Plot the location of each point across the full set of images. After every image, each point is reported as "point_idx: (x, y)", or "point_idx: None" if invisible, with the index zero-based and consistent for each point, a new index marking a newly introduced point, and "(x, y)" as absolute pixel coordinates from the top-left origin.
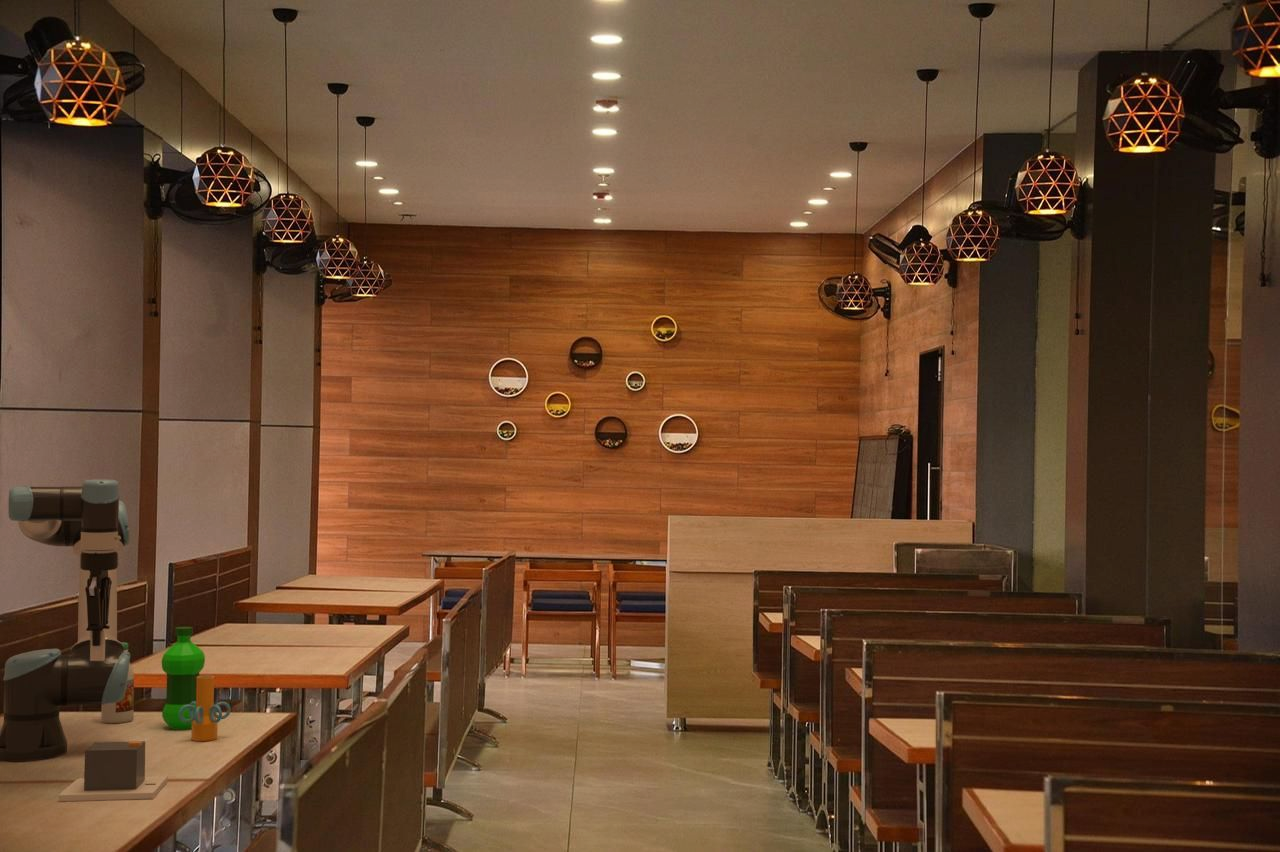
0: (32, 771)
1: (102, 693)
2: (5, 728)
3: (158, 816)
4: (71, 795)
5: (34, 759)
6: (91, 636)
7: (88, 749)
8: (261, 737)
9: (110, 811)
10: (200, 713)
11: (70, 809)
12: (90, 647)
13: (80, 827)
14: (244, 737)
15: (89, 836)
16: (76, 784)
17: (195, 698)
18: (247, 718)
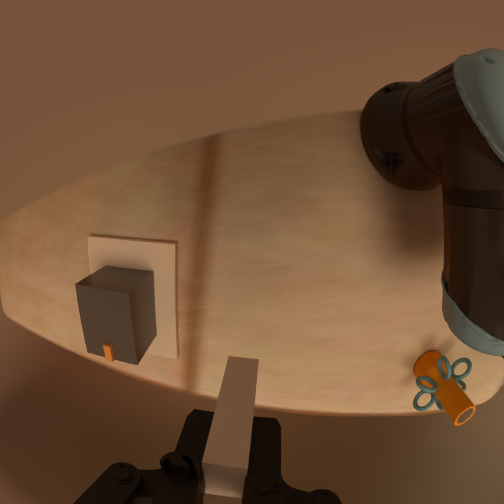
0: (285, 152)
1: (443, 278)
2: (407, 87)
3: (52, 340)
4: (88, 252)
5: (363, 144)
6: (208, 439)
7: (81, 288)
8: (404, 414)
9: (59, 298)
10: (433, 383)
11: (63, 256)
12: (219, 395)
13: (20, 276)
14: None
15: (6, 286)
16: (138, 249)
17: (502, 356)
18: (492, 375)
